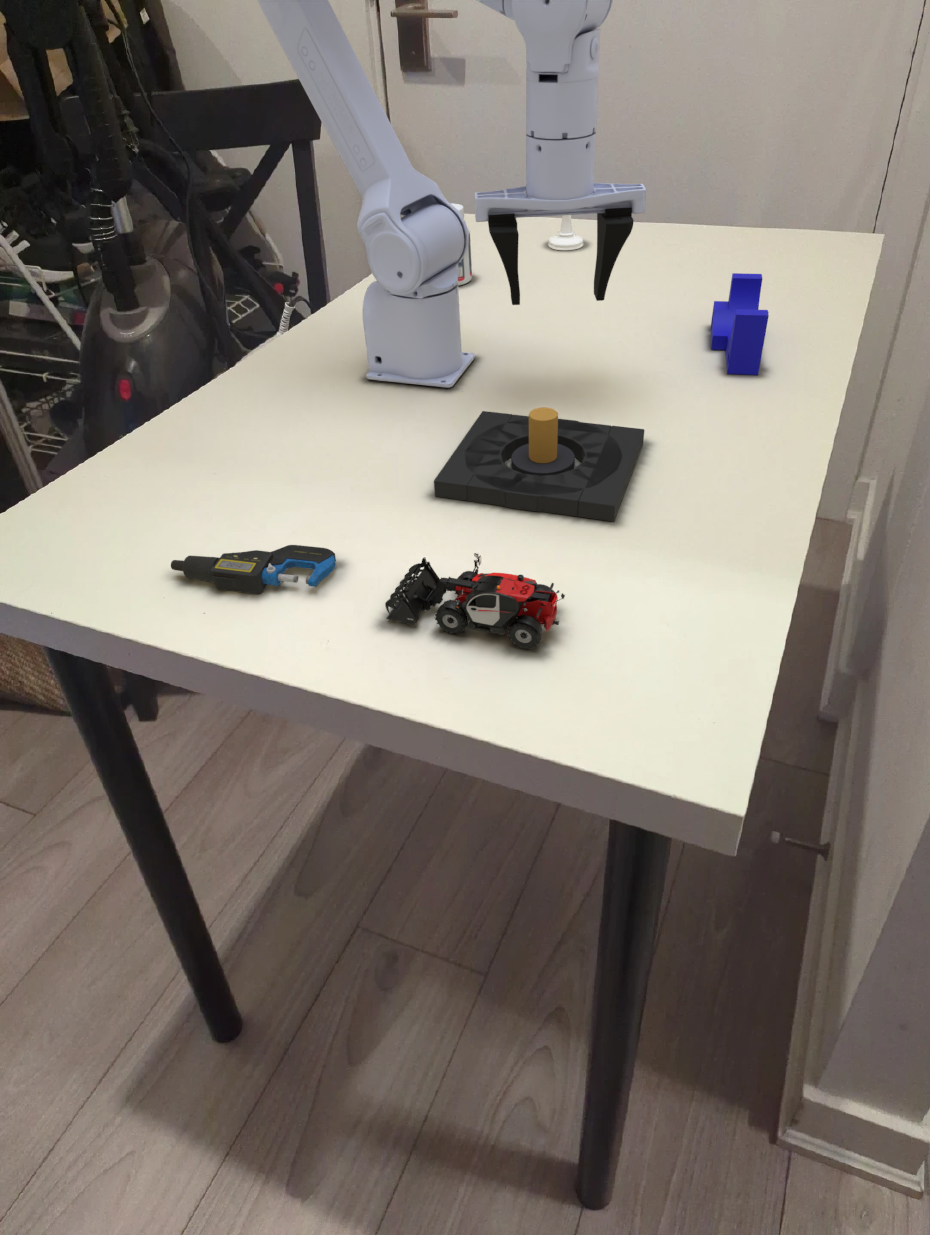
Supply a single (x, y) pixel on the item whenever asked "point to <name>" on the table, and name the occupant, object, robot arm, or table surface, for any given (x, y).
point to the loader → (478, 603)
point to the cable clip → (740, 325)
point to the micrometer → (258, 567)
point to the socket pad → (570, 493)
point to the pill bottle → (465, 263)
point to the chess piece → (566, 237)
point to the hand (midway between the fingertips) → (557, 299)
